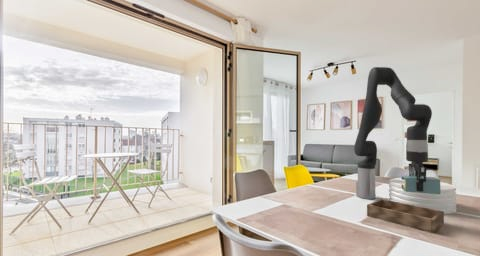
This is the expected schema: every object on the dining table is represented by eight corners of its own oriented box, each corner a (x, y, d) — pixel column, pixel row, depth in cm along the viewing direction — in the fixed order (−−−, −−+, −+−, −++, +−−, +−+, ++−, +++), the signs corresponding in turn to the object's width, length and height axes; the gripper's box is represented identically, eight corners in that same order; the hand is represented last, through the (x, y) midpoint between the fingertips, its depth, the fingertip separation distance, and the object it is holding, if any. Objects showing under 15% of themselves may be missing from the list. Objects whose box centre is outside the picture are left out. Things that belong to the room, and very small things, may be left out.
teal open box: (434, 177, 102) (401, 175, 106) (440, 179, 96) (405, 177, 101) (434, 191, 102) (401, 188, 106) (440, 194, 96) (405, 191, 101)
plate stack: (471, 215, 109) (471, 190, 109) (403, 211, 114) (403, 187, 114) (434, 199, 136) (434, 179, 136) (381, 196, 142) (381, 177, 142)
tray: (367, 215, 107) (367, 204, 107) (381, 208, 117) (380, 198, 117) (434, 233, 89) (433, 220, 89) (443, 223, 99) (443, 211, 99)
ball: (413, 186, 100) (406, 182, 101) (409, 192, 100) (402, 187, 102) (412, 184, 102) (405, 180, 104) (408, 190, 103) (401, 186, 104)
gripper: (401, 149, 110) (402, 185, 110) (411, 151, 96) (412, 192, 96) (421, 149, 107) (421, 186, 107) (434, 151, 94) (434, 194, 93)
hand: (417, 189), depth 102 cm, fingers closed on teal open box, 6 cm apart
